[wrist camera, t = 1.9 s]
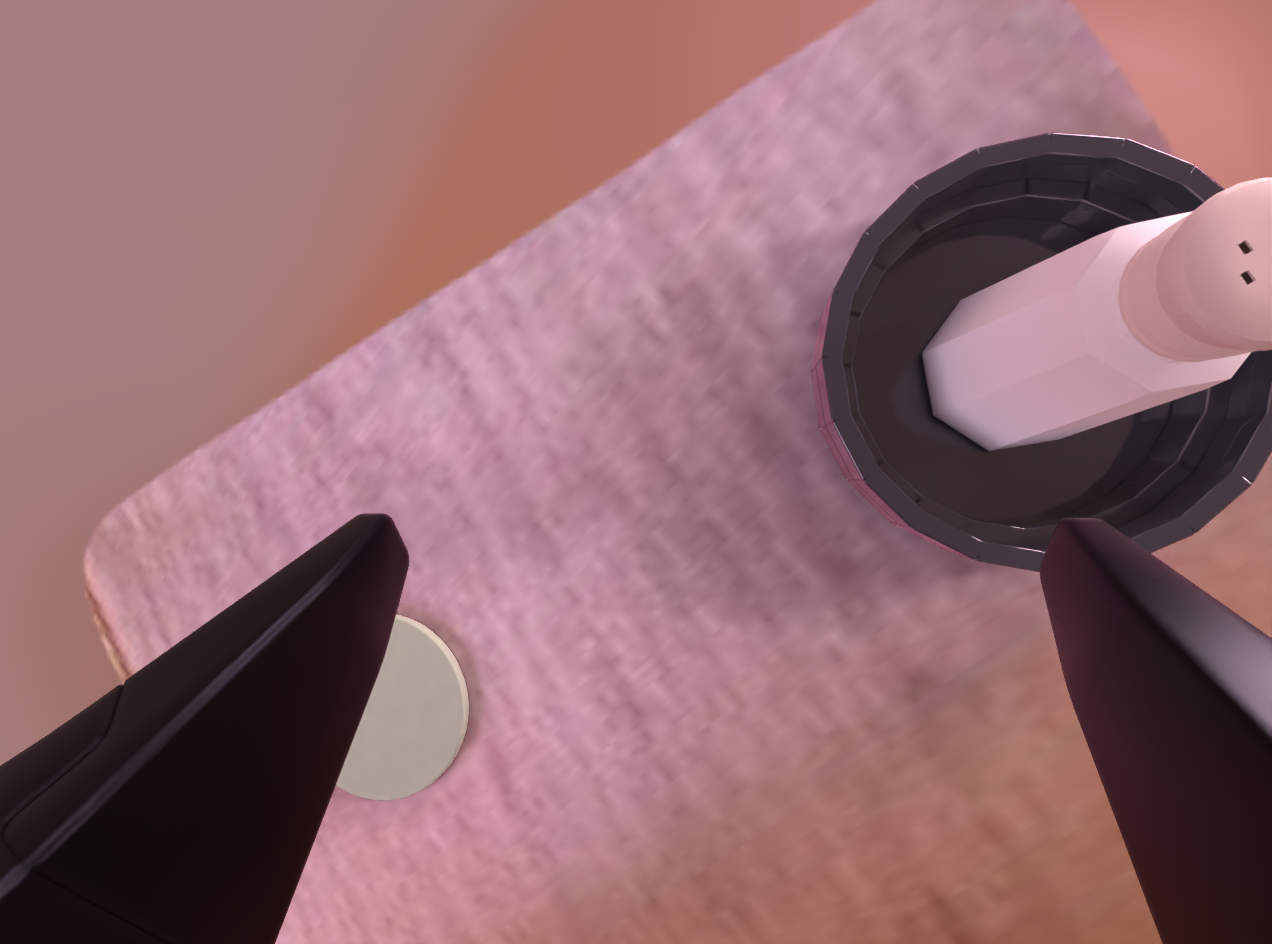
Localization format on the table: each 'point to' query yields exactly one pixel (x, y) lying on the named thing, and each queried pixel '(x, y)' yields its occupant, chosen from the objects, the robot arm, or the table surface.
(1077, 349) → the pepper shaker
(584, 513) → the table surface
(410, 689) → the coaster
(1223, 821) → the robot arm
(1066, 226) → the pan
